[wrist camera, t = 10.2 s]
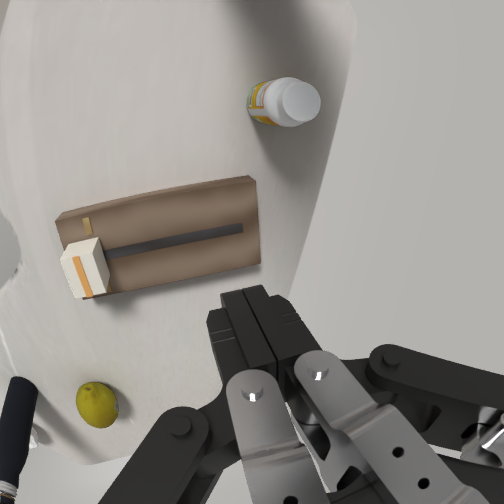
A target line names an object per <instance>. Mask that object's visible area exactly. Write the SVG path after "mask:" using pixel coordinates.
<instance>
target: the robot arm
mask: <svg viewBox="0 0 504 504" xmlns="http://www.w3.org/2000/svg"><path fill="white" fill-rule="evenodd" d="M220 297H221V304H222V308H220V309H215V310H211V311H209V314H208V318H207V321H206V323H207V327H208V332H209V336H210V341H211V345H212V350H213V354H214V357H215V360H216V364H217V367H218V371H219V374H220V377H221V380H222V384H223V387H222V390H221V392H220V394H219V395H218V396H217V397H216V399H214V400H213V401H212V402H210V403H209V404H207V405H205V406H203V407H201V408H200V409H198V410H196V409H194V408H191V407H175V408H172V409H169V410H167V411H166V412H164V413H163V414H162V415H161V416H160V417H159V418H158V420H157V421H156V423H155V424H154V426H153V427H152V428H151V430H150V431H149V433H148V434H147V436H146V437H145V438H144V440H143V441H142V443H141V444H140V445H139V447H138V448H137V450H136V451H135V453H134V454H133V455H132V457H131V458H130V460H129V461H128V462H127V464H126V465H125V467H124V468H123V469H122V471H121V472H120V474H119V475H118V476H117V478H116V479H115V481H114V482H113V483H112V485H111V486H110V488H109V489H108V490H107V492H106V493H105V495H104V496H103V497H102V499H101V500H100V502H99V503H98V504H205V503H206V501H207V499H208V498H209V496H210V494H211V492H212V490H213V489H214V487H215V485H216V483H217V481H218V479H219V477H220V476H221V474H222V472H223V469H225V468H227V467H229V466H230V465H232V464H234V463H235V462H237V461H238V460H240V459H241V460H242V464H243V468H244V472H245V476H246V480H247V484H248V487H249V491H250V494H251V498H252V502H253V504H504V375H500V374H496V373H492V372H489V371H485V370H481V369H477V368H473V367H469V366H466V365H462V364H459V363H455V362H451V361H447V360H444V359H441V358H437V357H434V356H430V355H427V354H424V353H420V352H416V351H413V350H410V349H407V348H403V347H400V346H397V345H392V344H385V345H381V346H378V347H376V348H375V349H374V350H373V351H372V352H371V354H370V357H369V358H364V359H355V360H341V359H339V358H338V357H337V356H335V355H334V354H332V353H330V352H327V351H323V350H322V349H321V347H320V346H319V344H318V343H317V341H316V340H315V338H314V337H313V336H312V334H311V333H310V331H309V330H308V328H307V327H306V325H305V324H304V322H303V321H302V320H301V318H300V317H299V315H298V313H296V310H295V309H294V307H293V306H292V304H291V303H290V302H289V301H288V300H286V299H285V298H283V297H282V296H280V295H275V296H271V297H269V295H268V294H267V292H266V290H265V289H264V287H263V286H262V285H257V286H252V287H248V288H243V289H241V290H240V289H239V290H235V291H230V292H226V293H221V294H220ZM285 402H287V403H288V405H289V407H290V409H291V418H290V415H289V413H288V410H287V407H286V405H285ZM291 420H292V421H291ZM292 422H293V423H292ZM293 424H294V425H295V427H296V429H297V431H298V432H299V434H300V436H301V437H302V439H303V440H304V442H305V444H306V445H307V447H308V449H309V450H310V452H311V453H312V455H313V457H314V458H315V460H316V461H317V463H318V465H319V468H320V472H321V476H322V478H323V481H324V482H325V484H326V486H327V487H328V488H329V490H330V492H331V493H326V492H325V489H324V487H323V484H322V482H321V479H320V477H319V475H318V472H317V470H316V467H315V465H314V462H313V460H312V457H311V455H310V453H309V451H308V449H307V447H306V446H305V445H304V444H303V443H301V442H300V441H299V439H298V436H297V434H296V431H295V429H294V426H293ZM428 444H431V445H435V446H439V447H443V448H448V449H452V450H457V451H460V452H462V454H461V456H460V459H456V458H452V457H449V456H445V455H441V454H437V453H435V452H434V451H433V449H432V448H431V447H430V446H429V445H428Z"/></svg>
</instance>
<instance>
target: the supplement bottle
mask: <svg viewBox="0 0 504 504" xmlns="http://www.w3.org/2000/svg"><path fill="white" fill-rule="evenodd" d="M320 107H321V99H320V95H319V93H318V91H317V90H316V89H315V88H314V87H313V86H312V85H310V84H309V83H306V82H302V81H301V80H299V79H296V78H292V77H284V78H279V79H275V80H271V81H267V82H263V83H260V84H258V85H256V86H255V87H253V88H252V89H251V91H250V92H249V94H248V97H247V109H248V111H249V113H250V115H251V116H252V117H253V118H254V119H255V120H257V121H258V122H260V123H264V124H270V125H277V126H283V127H295V126H299V125H301V124H303V123H304V122H307V121H310V120H312V119H313V118H315V117H316V116H317V114H318V113H319V111H320Z"/></svg>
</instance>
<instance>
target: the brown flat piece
mask: <svg viewBox="0 0 504 504" xmlns="http://www.w3.org/2000/svg"><path fill="white" fill-rule="evenodd" d="M55 223H56V226H57V230H58V233H59V236H60V239H61V242H62V245H63V248H64V251H65V250H66V248H67V246H68V244H71V243H75V242H79V241H84V240H88V239H92V238H96V237H99V241H100V244H101V247H102V251H103V254H104V257H105V260H106V264H107V267H108V270H109V273H110V277H109V281H108V286H107V291H106V293H102V294H97V295H93V296H92V297H82V298H83V300H85V299H90V298H95V297H100V296H105V295H110V294H115V293H120V292H125V291H130V290H135V289H140V288H145V287H150V286H155V285H160V284H165V283H170V282H175V281H180V280H184V279H189V278H194V277H199V276H204V275H208V274H213V273H218V272H223V271H227V270H232V269H237V268H241V267H246V266H251V265H255V264H260V263H261V257H260V240H259V224H258V208H257V192H256V181H255V180H254V179H253V178H251V177H250V176H241V177H234V178H227V179H221V180H214V181H208V182H202V183H196V184H190V185H185V186H179V187H174V188H169V189H163V190H158V191H153V192H148V193H143V194H139V195H134V196H129V197H125V198H120V199H116V200H111V201H107V202H103V203H99V204H95V205H91V206H86V207H83V208H79V209H75V210H71V211H67V212H63V213H62V214H61V215H60V216H59V217H58V218H57V220H56V221H55Z"/></svg>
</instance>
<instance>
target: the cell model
mask: <svg viewBox="0 0 504 504" xmlns="http://www.w3.org/2000/svg"><path fill="white" fill-rule="evenodd" d="M37 446H38V436H37V432H36V431H35V429H34V428H33V427H32V429H31V436H30V444H29V448H31V449H34V448H36V447H37Z"/></svg>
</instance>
